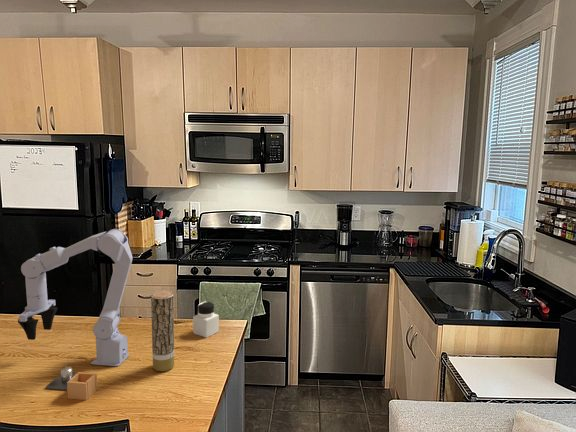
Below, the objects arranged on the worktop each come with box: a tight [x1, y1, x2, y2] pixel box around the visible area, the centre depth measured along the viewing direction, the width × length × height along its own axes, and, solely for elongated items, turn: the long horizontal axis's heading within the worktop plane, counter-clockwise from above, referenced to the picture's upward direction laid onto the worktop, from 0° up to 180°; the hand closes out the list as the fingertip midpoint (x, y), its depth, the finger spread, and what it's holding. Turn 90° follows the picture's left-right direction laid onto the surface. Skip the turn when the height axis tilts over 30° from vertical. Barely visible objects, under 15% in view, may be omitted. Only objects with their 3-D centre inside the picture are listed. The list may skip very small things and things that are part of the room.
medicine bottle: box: [192, 301, 220, 338], centre depth 165 cm, size 7×7×12 cm
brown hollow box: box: [66, 371, 98, 401], centre depth 122 cm, size 6×6×5 cm
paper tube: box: [150, 289, 175, 372], centre depth 137 cm, size 7×7×25 cm
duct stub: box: [45, 366, 78, 391], centre depth 128 cm, size 8×8×4 cm
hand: (39, 334), depth 138 cm, fingers open, 7 cm apart
